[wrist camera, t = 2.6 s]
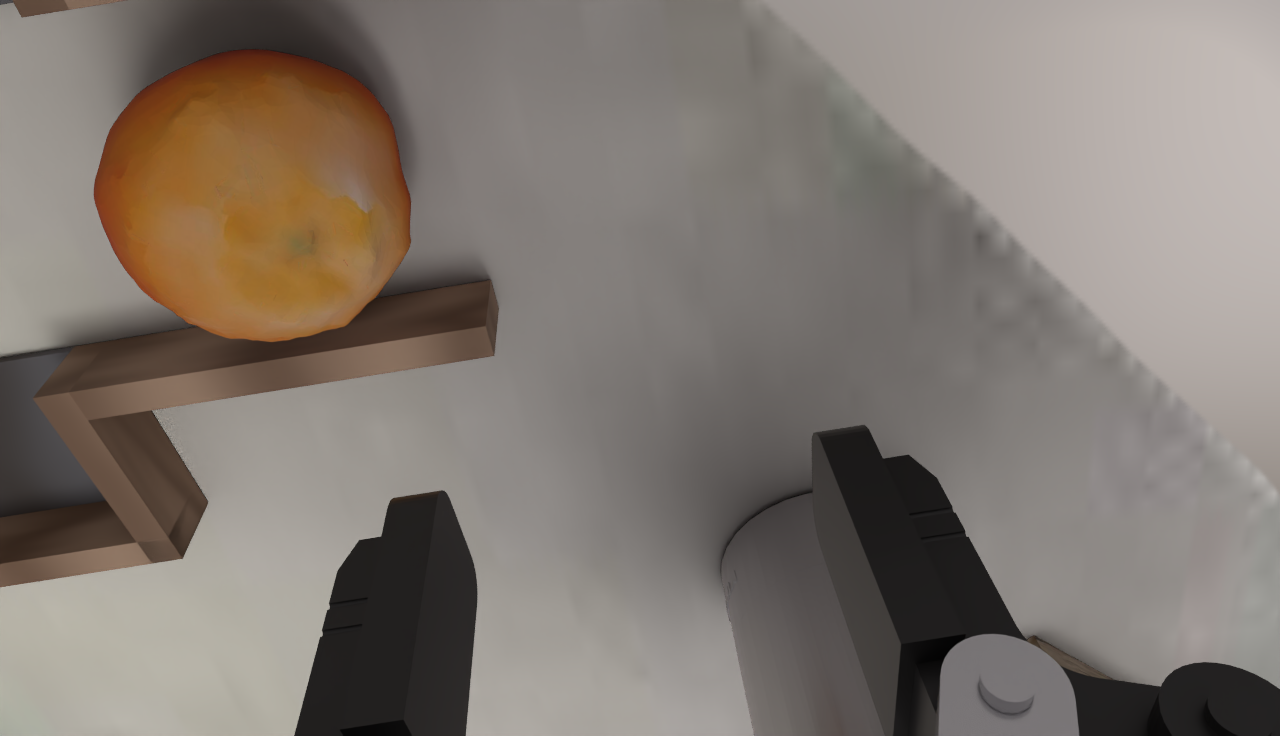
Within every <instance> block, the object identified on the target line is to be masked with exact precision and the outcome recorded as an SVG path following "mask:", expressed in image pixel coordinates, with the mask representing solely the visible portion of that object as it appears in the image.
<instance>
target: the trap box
mask: <svg viewBox="0 0 1280 736" xmlns="http://www.w3.org/2000/svg"><path fill="white" fill-rule="evenodd" d="M120 1H126V0H0V5H1V4H7V3H14V4H15V6H16V8H17V9H18V11H19V13H20V15H21V17H27V16H34V15H40V14H46V13H52V12H58V11H64V10H70V9H77V8H83V7H89V6H95V5H101V4H107V3H113V2H120ZM498 311H499V308H498V304H497V300H496V297H495V293H494V289H493V286H492V282H491V280H488V281H481V282H475V283H469V284H463V285H456V286H450V287H444V288H438V289H431V290H425V291H419V292H412V293H406V294H400V295H394V296H387V297H381V298H375V299H373V300H372V301H370V302H369V303H368V304H367V305H366V306H365V307H364V308H363V309H362V311H361V312H360V313H359V314H358V315H356V316H355V317H354V318H353V319H352V320H351V321H350V322H349V324H348V325H346V326H344V327H340V328H336V329H331V330H326V331H323V332H320V333H317V334H314V335H311V336H307V337H298V338H294V339H291V340H283V341H275V342H267V341H259V340H249V339H239V338H238V339H230V338H225V337H222V336H219V335H216V334H213V333H211V332H209V331H206V330H204V329H202V328H200V327H193V328H187V329H180V330H174V331H168V332H161V333H155V334H149V335H143V336H136V337H130V338H124V339H117V340H111V341H105V342H99V343H92V344H86V345H80V346H74V347H67V348H61V349H55V350H48V351H42V352H36V353H30V354H23V355H17V356H11V357H4V358H0V587H5V586H11V585H18V584H24V583H30V582H37V581H43V580H49V579H56V578H62V577H69V576H75V575H81V574H88V573H94V572H100V571H107V570H113V569H119V568H126V567H132V566H139V565H145V564H151V563H158V562H164V561H170V560H177V559H183V557H184V554H185V552H186V550H187V548H188V546H189V544H190V541H191V539H192V537H193V535H194V533H195V531H196V528H197V526H198V524H199V522H200V520H201V517H202V515H203V513H204V511H205V509H206V507H207V504H208V502H207V500H206V498H205V497H204V495H203V493H202V492H201V490H200V489H199V487H198V485H197V484H196V482H195V481H194V479H193V477H192V476H191V474H190V473H189V471H188V469H187V468H186V466H185V465H184V463H183V461H182V460H181V458H180V456H179V455H178V453H177V452H176V450H175V448H174V447H173V445H172V444H171V442H170V440H169V439H168V437H167V436H166V434H165V432H164V431H163V429H162V428H161V426H160V424H159V423H158V421H157V419H156V418H155V416H154V415H153V413H152V411H151V410H156V409H163V408H169V407H175V406H181V405H188V404H194V403H200V402H207V401H213V400H219V399H226V398H232V397H238V396H245V395H251V394H257V393H263V392H270V391H276V390H282V389H289V388H295V387H301V386H308V385H314V384H320V383H326V382H333V381H339V380H345V379H352V378H358V377H364V376H371V375H377V374H383V373H390V372H396V371H402V370H408V369H415V368H421V367H427V366H434V365H440V364H446V363H453V362H459V361H465V360H472V359H478V358H484V357H490V356H494V353H495V342H496V332H497V321H498Z"/></svg>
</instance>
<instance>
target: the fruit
mask: <svg viewBox="0 0 1280 736" xmlns="http://www.w3.org/2000/svg"><path fill="white" fill-rule="evenodd" d="M94 199H95V204H96V207H97V210H98V213H99V217H100V220H101V222H102V225H103V228H104V230H105V232H106V235H107V237H108V239H109V241H110V244H111V246H112V248H113V250H114V252H115V254H116V256H117V257H118V259H119V261H120V263H121V264H122V265H123V267H124V268H125V270H126V271H127V273H128V274H129V275H130V276H131V277H132V278H133V279H134V281H135V282H136V283H137V285H138V286H139V287H140V288H141V289H142V291H144V292H145V293H146V294H147V295H148V296H150V297H151V298H152V299H153V300H154V301H156V302H158V303H160V304H161V305H163V306H165V307H167V308H168V309H170V310H172V311H173V312H174V313H175V314H176V315H177V316H179V317H181V318H183V319H184V320H185V321H186V322H187V323H189V324H194V325H196V326H198V327H200V328H202V329H204V330H206V331H209V332H211V333H213V334H216V335H219V336H222V337H225V338H230V339H238V338H239V339H249V340H259V341H267V342H275V341H283V340H291V339H294V338H298V337H307V336H311V335H314V334H317V333H320V332H323V331H326V330H331V329H336V328H340V327H344V326H346V325H348V324H349V322H350V321H351V320H352V319H353V318H354V317H355V316H356V315H358V314H359V313H360V312H361V311H362V309H363V308H364V307H365V306H366V305H367V304H368V303H369V302H370V301H372V300H373V299H374V298H375V297H376V296H377V295H378V294H379V293H380V291H381V290H382V288H383V287H384V285H385V284H386V283H387V282H388V280H389V279H390V278H391V276H392V275H393V273H394V272H395V270H396V269H397V267H398V266H399V264H400V263H401V262H402V260H403V258H404V256H405V255H406V253H407V251H408V249H409V247H410V243H411V238H410V211H411V199H410V194H409V191H408V188H407V185H406V182H405V179H404V176H403V173H402V168H401V163H400V158H399V151H398V146H397V141H396V137H395V132H394V128H393V125H392V123H391V120H390V118H389V116H388V114H387V113H386V111H385V110H384V109H383V107H382V106H381V105H380V103H379V102H378V100H377V99H376V98H375V96H374V95H373V94H372V93H371V92H370V91H369V90H368V89H367V88H366V87H365V86H364V85H363V84H361V83H360V82H359V81H358V80H356V79H355V78H353V77H351V76H350V75H348V74H347V73H345V72H343V71H341V70H338V69H336V68H333V67H331V66H328V65H326V64H323V63H321V62H318V61H315V60H312V59H309V58H306V57H301V56H296V55H292V54H287V53H282V52H276V51H270V50H259V49H246V50H233V51H227V52H222V53H218V54H215V55H212V56H209V57H207V58H204V59H201V60H199V61H196V62H194V63H192V64H189V65H187V66H185V67H183V68H180V69H178V70H176V71H174V72H172V73H170V74H168V75H166V76H164V77H163V78H161V79H159V80H158V81H156V82H154V83H152V84H151V85H149V86H147V87H146V88H145V89H143V90H142V91H141V92H140V93H138V94H137V95H136V96H135V97H134V99H133V100H132V101H131V102H130V103H129V104H128V106H127V107H126V108H125V109H124V111H123V112H122V113H121V114H120V116H119V117H118V119H117V120H116V121H115V123H114V124H113V126H112V127H111V129H110V131H109V134H108V136H107V139H106V143H105V146H104V150H103V154H102V157H101V161H100V165H99V168H98V172H97V175H96V179H95V184H94Z"/></svg>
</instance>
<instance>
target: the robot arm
mask: <svg viewBox="0 0 1280 736" xmlns="http://www.w3.org/2000/svg"><path fill="white" fill-rule="evenodd" d="M812 488H813V493H808V494H804V495H801V496H797V497H794V498H791V499H787V500H785V501H782V502H780V503H778V504H776V505H774V506H772V507H770V508H768V509H766V510H764V511H763V512H761V513H760V514H758V515H757V516H755V517H754V518H752V519H751V520H750V521H748V522H747V523H746V524H745V525H744V526H743V527H742V528H741V529H740V530H739V531H738V532H737V533H736V534H735V536H734V537H733V539H732V540H731V542H730V543H729V545H728V546H727V548H726V551H725V554H724V557H723V559H722V566H721V578H722V583H723V588H724V592H725V597H726V607H727V612H728V617H729V621H730V622H731V626H732V631H733V636H734V641H735V646H736V651H737V656H738V660H739V665H740V670H741V675H742V680H743V684H744V689H745V694H746V699H747V704H748V708H749V713H750V718H751V723H752V728H753V732H754V736H1280V689H1279V688H1277V687H1276V686H1274V685H1273V684H1271V683H1270V682H1268V681H1266V680H1265V679H1263V678H1261V677H1259V676H1257V675H1255V674H1253V673H1251V672H1248V671H1246V670H1243V669H1240V668H1237V667H1234V666H1230V665H1225V664H1220V663H1207V662H1202V663H1193V664H1189V665H1185V666H1182V667H1180V668H1178V669H1176V670H1174V671H1173V672H1172V673H1171V674H1170V675H1168V676H1167V678H1166V679H1165V681H1164V682H1163V683H1162V686H1161V687H1159V686H1152V685H1145V684H1138V683H1131V682H1124V681H1117V680H1110V679H1103V678H1097V677H1092V676H1087V675H1084V674H1080V673H1077V672H1074V671H1072V670H1069V669H1067V668H1065V667H1062V666H1060V665H1059V664H1058V663H1057V662H1056V661H1055V660H1054V659H1053V658H1051V657H1050V656H1049V655H1048V654H1047V653H1045V652H1044V651H1043V650H1041V649H1040V648H1038V647H1036V646H1034V645H1033V644H1031V643H1029V642H1028V641H1027V640H1026V639H1025V637H1024V636H1023V635H1022V634H1021V632H1020V631H1019V629H1018V628H1017V626H1016V624H1015V622H1014V621H1013V619H1012V617H1011V615H1010V613H1009V611H1008V609H1007V608H1006V606H1005V604H1004V602H1003V600H1002V598H1001V596H1000V595H999V593H998V591H997V589H996V587H995V585H994V583H993V582H992V580H991V578H990V576H989V574H988V572H987V570H986V569H985V567H984V565H983V563H982V561H981V559H980V557H979V556H978V554H977V552H976V550H975V548H974V546H973V544H972V542H971V541H970V539H969V537H966V534H965V529H964V528H963V526H962V524H961V522H960V520H959V518H958V516H957V515H956V513H954V512H953V509H952V505H951V503H950V502H949V500H948V498H947V496H946V494H945V492H944V490H943V489H942V487H941V485H940V483H939V481H938V479H937V478H936V477H935V476H934V475H933V474H931V473H930V472H929V471H928V470H927V469H925V468H924V467H923V466H922V465H920V464H919V463H918V462H917V461H916V460H914V459H913V458H912V457H911V456H909V455H904V456H897V457H891V458H885V459H883V458H882V456H881V454H880V452H879V450H878V448H877V446H876V443H875V441H874V439H873V437H872V435H871V433H870V431H869V429H868V428H867V427H866V426H865V425H860V426H854V427H848V428H841V429H835V430H829V431H822V432H816V433H814V434H813V436H812ZM329 604H330V610H327V613H326V617H325V621H324V625H323V629H322V631H323V636H322V637H320V640H319V644H318V648H317V651H316V655H315V659H314V663H313V667H312V670H311V674H310V678H309V682H308V686H307V690H306V693H305V697H304V701H303V705H302V709H301V712H300V716H299V720H298V724H297V728H296V731H295V735H294V736H466V725H467V713H468V702H469V690H470V679H471V667H472V656H473V644H474V633H475V621H476V610H477V580H476V573H475V568H474V563H473V560H472V557H471V554H470V551H469V549H468V546H467V543H466V541H465V538H464V536H463V533H462V530H461V528H460V525H459V522H458V520H457V517H456V514H455V512H454V509H453V506H452V504H451V501H450V499H449V497H448V495H447V493H446V492H445V491H436V492H429V493H423V494H417V495H410V496H404V497H398V498H393V499H392V500H391V501H390V503H389V505H388V509H387V513H386V518H385V522H384V527H383V532H382V536H381V537H376V538H370V539H363V540H359V541H358V543H357V544H356V546H355V547H354V549H353V550H352V551H351V553H350V554H349V556H348V557H347V558H346V560H345V561H344V563H343V564H342V565H341V567H340V568H339V570H338V571H337V575H336V579H335V583H334V587H333V590H332V594H331V598H330V602H329Z"/></svg>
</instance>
